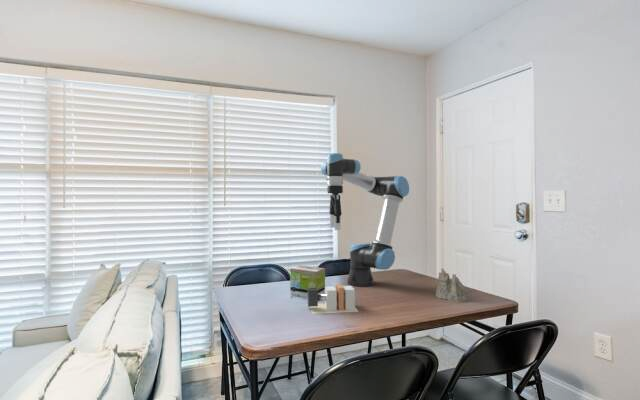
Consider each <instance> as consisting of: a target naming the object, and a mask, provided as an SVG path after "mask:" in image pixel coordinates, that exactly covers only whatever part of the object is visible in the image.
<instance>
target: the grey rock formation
mask: <svg viewBox="0 0 640 400" xmlns="http://www.w3.org/2000/svg"><path fill="white" fill-rule="evenodd" d="M440 271H441V272H440ZM440 271H439V272H438V276H437V277H438V279H437V284H438V285H437V287H436V290H435V297H436V296H437V297H439V298H438V299H440V298H442V299H441V300H444V299H448V300H447V301H449V300H452V301H451V302H455V301H459V302H458V303H464V302H463V301H465V302H467V300H468V298H467V296H466V295H465V294H466V291H465V289H466V286H465V284H463V283H462V281H460V279H459V277H458V276H457V274H456V273H453V274H452V277H451V278H450V274H449V273H448V272H447V271H445V270H444V268H443V267H442V268H441V269H440ZM437 297H436V298H437Z"/></svg>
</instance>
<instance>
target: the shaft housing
mask: <svg viewBox="0 0 640 400" xmlns="http://www.w3.org/2000/svg"><path fill="white" fill-rule="evenodd" d="M342 287H343V288H344V293H345V300H344V310H339V309H338V307H337V290H336V286H334V285H333V286H325V294H327V301H324V302H320V303H319V302H318V306H312V307H309V308H310V312H311V315H319V314H340V313H341V314H342V313H359V310H358V309H357V307H356V299H355V297H356V292H355V291H356V290H355V288H354V287H353V285H342Z"/></svg>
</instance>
